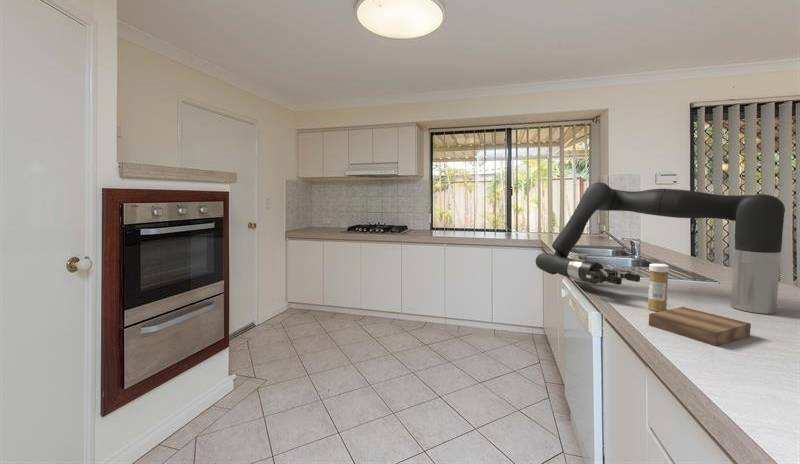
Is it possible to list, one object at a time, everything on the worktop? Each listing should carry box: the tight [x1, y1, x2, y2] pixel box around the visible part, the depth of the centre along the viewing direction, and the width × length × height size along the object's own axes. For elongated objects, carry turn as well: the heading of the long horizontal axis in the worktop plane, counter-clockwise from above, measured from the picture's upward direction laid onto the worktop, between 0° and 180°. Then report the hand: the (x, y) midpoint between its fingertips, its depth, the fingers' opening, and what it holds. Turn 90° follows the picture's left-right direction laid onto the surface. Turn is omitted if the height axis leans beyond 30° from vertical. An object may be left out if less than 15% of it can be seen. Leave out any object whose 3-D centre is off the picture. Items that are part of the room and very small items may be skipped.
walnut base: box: [648, 306, 752, 347], centre depth 84 cm, size 14×14×3 cm
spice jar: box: [647, 263, 670, 312], centre depth 99 cm, size 5×5×14 cm
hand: (630, 280), depth 107 cm, fingers open, 8 cm apart
